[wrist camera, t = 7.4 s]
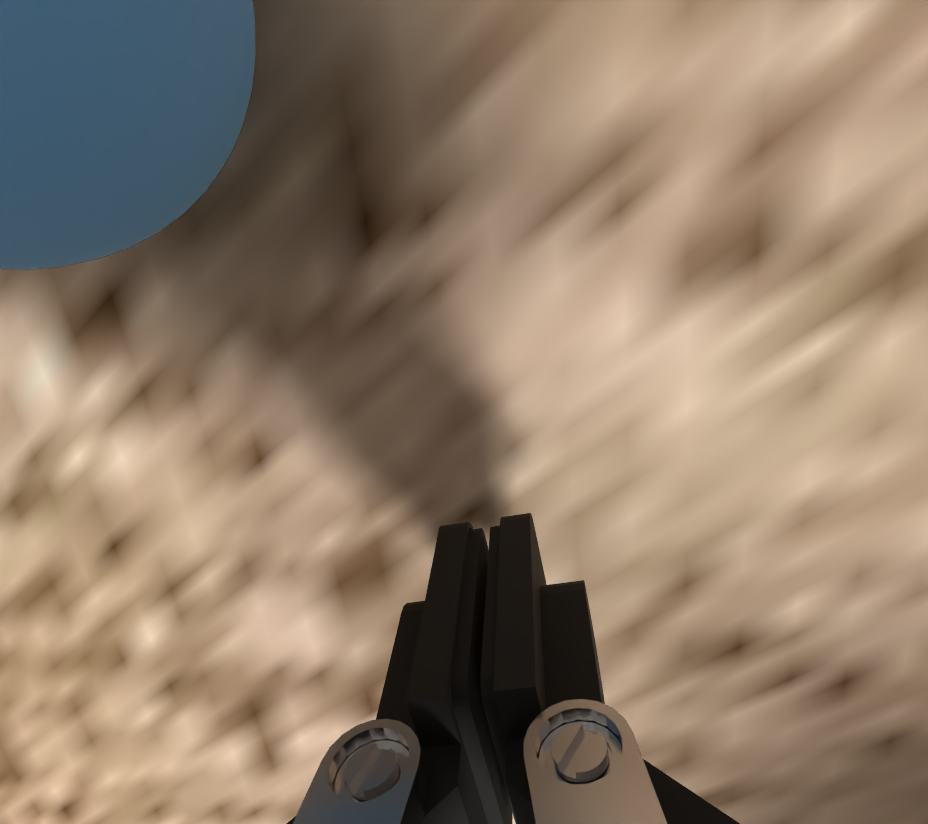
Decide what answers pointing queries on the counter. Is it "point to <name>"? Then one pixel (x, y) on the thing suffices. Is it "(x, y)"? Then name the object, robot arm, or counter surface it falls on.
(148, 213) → the ball
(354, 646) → the counter surface
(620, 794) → the robot arm
